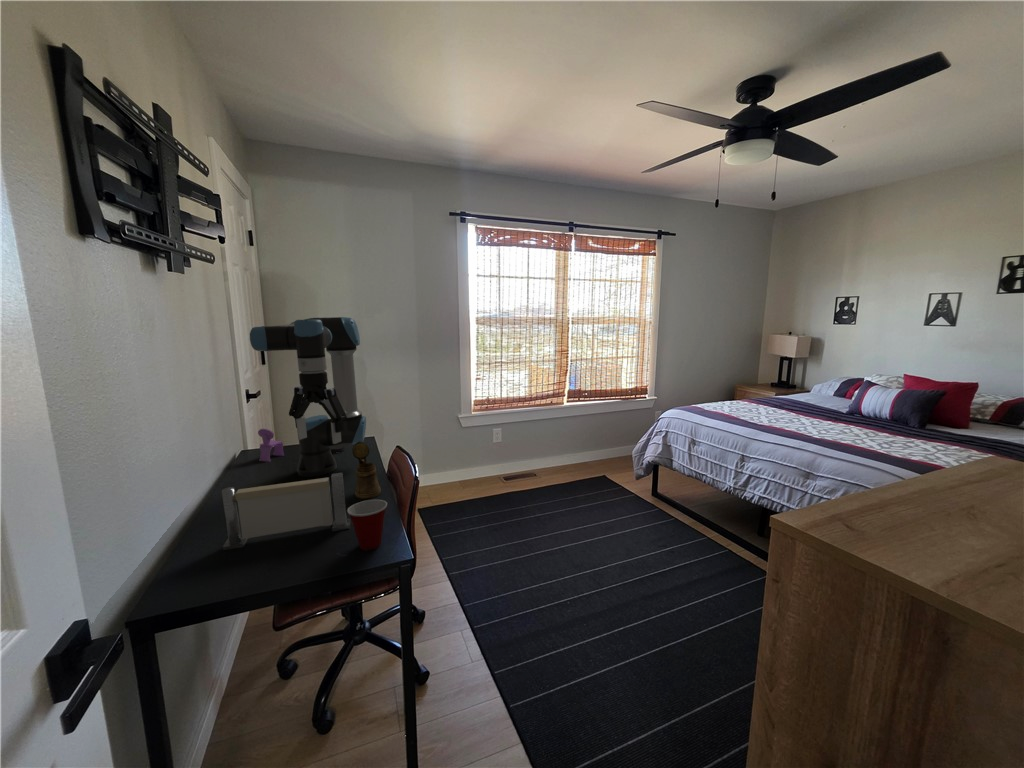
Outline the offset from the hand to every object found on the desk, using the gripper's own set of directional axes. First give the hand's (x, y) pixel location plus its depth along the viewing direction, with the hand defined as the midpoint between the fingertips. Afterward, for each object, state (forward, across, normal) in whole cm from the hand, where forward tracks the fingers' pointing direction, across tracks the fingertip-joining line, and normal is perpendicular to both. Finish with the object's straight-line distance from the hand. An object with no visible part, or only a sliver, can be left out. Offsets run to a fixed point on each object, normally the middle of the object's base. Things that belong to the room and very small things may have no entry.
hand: (319, 440), depth 123 cm
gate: (+26, -6, -9) cm, 28 cm away
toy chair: (+28, -72, +39) cm, 87 cm away
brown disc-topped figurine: (+28, -4, +24) cm, 37 cm away
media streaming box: (+28, -55, +57) cm, 84 cm away
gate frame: (+28, -6, -9) cm, 30 cm away
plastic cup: (+28, +20, -5) cm, 35 cm away
